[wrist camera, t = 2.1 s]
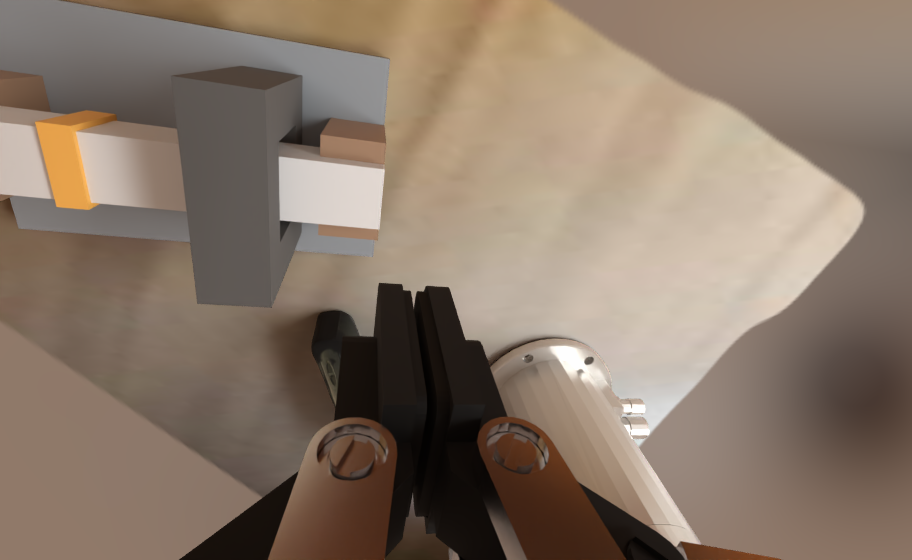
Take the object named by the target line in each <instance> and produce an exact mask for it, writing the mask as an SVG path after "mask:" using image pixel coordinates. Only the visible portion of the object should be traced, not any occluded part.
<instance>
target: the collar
mask: <svg viewBox="0 0 912 560" xmlns="http://www.w3.org/2000/svg"><path fill="white" fill-rule="evenodd" d="M171 82H172V91H173V99H174V108H175V116H176V125H177V133H178V142H179V150H180V159H181V168H182V176H183V185H184V193H185V202H186V210H187V219H188V228H189V236H190V245H191V253H192V262H193V270H194V279H195V287H196V296H197V304H213V305H232V306H251V307H270V308H272V305H273V303H274V300H275V298H276V295H277V293H278V290H279V288H280V286H281V283H282V281H283V278H284V276H285V273H286V271H287V268H288V266H289V263H290V261H291V258H292V256H293V253H294V251H295V248H296V246H297V243H298V241H299V238H300V236H301V233H302V222H293V221H282V220H280V199H279V144H278V142H283V143H291V144H299V145H302V83H303V75H296V74H290V73H284V72H278V71H272V70H266V69H259V68H253V67H247V66H236V67H229V68H222V69H215V70H208V71H201V72H194V73H187V74H180V75H173V76H171Z"/></svg>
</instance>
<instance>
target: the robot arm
mask: <svg viewBox="0 0 912 560" xmlns="http://www.w3.org/2000/svg"><path fill="white" fill-rule="evenodd" d="M644 411H645V405H644V402H643V401H642V400H641V399H619V398H618V397H617V396H616V395H615V394H614V392H613V391H612V379H611V375H610V371H609V369H608V368H607V366H606V364H605V363H604V361H603V360H602V359H601V357H600V356H599V355H598V354H597V353H596V352H595V351H594V350H593V349H591V348H590V347H589V346H586V345H584V344H582V343H580V342H577V341H573V340H568V339H545V340H539V341H535V342H531V343H528V344H525V345H523V346H520V347H518V348H516V349H514V350H512V351H510V352H509V353H507V354H506V355H504V356H502V357H501V358H500V359H499V360H497V361H496V362H495V363H494V364H493V365H492V366H491V367H490V366H489V363H488V360H487V357H486V355H485V352H484V349H483V346H482V344H481V342H480V341H475V340H465V337H464V334H463V331H462V327H461V324H460V321H459V318H458V315H457V311H456V308H455V305H454V302H453V298H452V295H451V292H450V289H449V287H435V286H426V287H425V290H424V292H422V291H417V293H416V298H415V305H414V309H413V302H412V296H411V291H405V290H403V286H402V284H388V283H379V286H378V296H377V306H376V317H375V327H374V337H363V336H343V338H342V348H341V358H340V368H339V378H338V389H337V399H336V409H335V419H334V421H333V422H331V423H329V424H328V425H326V426H324V427H322V428H321V429H320V430H319V431H318V432H317V433H316V434H315V435H314V436H313V438H312V439H311V441H310V443H309V445H308V447H307V450H306V453H305V455H304V458H303V461H302V464H301V467H300V470H299V471H298V472H297V473H296V474H294V475H293V476H292V477H290V478H289V479H288V480H286V481H285V482H283V483H282V484H281V485H279V486H278V487H277V488H275V489H274V490H273V491H271V492H270V493H269V494H267V495H266V496H265V497H263V498H262V499H261V500H259V501H258V502H257V503H255V504H254V505H253V506H251V507H250V508H248V509H247V510H246V511H244V512H243V513H242V514H240V515H239V516H238V517H236V518H235V519H234V520H232V521H231V522H229V523H228V524H227V525H225V526H224V527H223V528H221V529H220V530H219V531H217V532H216V533H215V534H214V535H212V536H211V537H209V538H208V539H206V540H205V541H204V542H202V543H201V544H200V545H199V546H197V547H196V548H194V549H193V550H192V551H190V552H189V553H188V554H186V555H185V556H184V557H182V558H181V559H179V560H384V559H385V558H386V556H387V555H388V554H389V553H390V552H391V551H392V550H393V549H394V547H395V546H396V545H397V544H398V543H399V542H400V541H401V540H402V537H403V532H404V526H405V520H406V517H408V515H409V510H410V504H411V499H412V493H413V499H414V510H415V515H416V517H420V516H424V518H425V527H426V534H432V533H436V537H437V538H439V539H440V540H441V541H442V542H443V543H445V544H446V545H447V546H448V547H449V557H450V560H781V559H778V558H773V557H768V556H762V555H757V554H751V553H745V552H739V551H734V550H728V549H723V548H717V547H711V546H706V545H702V544H701V542H700V541H699V539H698V538H697V536H696V535H695V533H694V532H693V530H692V529H691V527H690V525H689V524H688V522H687V521H686V519H685V518H684V516H683V515H682V513H681V512H680V510H679V509H678V507H677V506H676V504H675V503H674V501H673V500H672V498H671V497H670V495H669V493H668V492H667V491H666V489H665V487H664V486H663V484H662V483H661V481H660V480H659V478H658V477H657V475H656V474H655V472H654V471H653V469H652V467H651V466H650V464H649V463H648V461H647V460H646V458H645V457H644V456H643V454H642V452H641V451H640V449H639V447H638V446H637V444H636V443H635V441H634V440H633V439H644V438H646V437H647V436H648V433H649V427H648V423H647V421H646V420H645V419H644V418H643V417H622V418H621V416H622V414H627V415H642V414H643V413H644Z"/></svg>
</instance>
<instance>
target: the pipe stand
mask: <svg viewBox="0 0 912 560" xmlns="http://www.w3.org/2000/svg"><path fill="white" fill-rule="evenodd" d="M389 64H390V59H389V58H383V57H378V56H372V55H366V54H361V53H355V52H350V51H344V50H338V49H333V48H327V47H321V46H316V45H310V44H304V43H299V42H293V41H288V40H282V39H276V38H271V37H265V36H259V35H254V34H248V33H242V32H237V31H231V30H226V29H220V28H214V27H209V26H203V25H197V24H192V23H186V22H180V21H175V20H169V19H164V18H158V17H152V16H147V15H141V14H135V13H130V12H124V11H118V10H113V9H107V8H102V7H96V6H90V5H85V4H79V3H73V2H68V1H62V0H0V201H2V200H5V199H7V198H10V201H11V204H12V207H13V211H14V214H15V217H16V221H17V224H18V227H19V229H31V230H44V231H56V232H69V233H81V234H94V235H106V236H119V237H131V238H144V239H156V240H169V241H181V242H190V236H189V228H188V219H187V210H186V202H185V193H184V185H183V176H182V168H181V159H180V150H179V142H178V133H177V125H176V116H175V108H174V99H173V91H172V82H171V76H173V75H180V74H187V73H194V72H201V71H208V70H215V69H222V68H229V67H236V66H247V67H253V68H259V69H266V70H272V71H278V72H284V73H290V74H296V75H303V83H302V145H299V144H291V143H283V142H278V144H279V199H280V220H282V221H293V222H302V233H301V236H300V238H299V241H298V243H297V246H296V248H295V251H306V252H318V253H331V254H343V255H356V256H368V257H373V252H374V240H378V230H379V227H380V216H381V204H382V193H383V182H384V171H385V168H384V162H385V151H386V137H385V127H384V123H385V111H386V99H387V88H388V76H389Z"/></svg>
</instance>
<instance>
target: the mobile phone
mask: <svg viewBox="0 0 912 560" xmlns="http://www.w3.org/2000/svg"><path fill="white" fill-rule="evenodd" d="M343 336H359V333H358V330H357V328H356V325H355V323H354V320H353V319H352V317H351V316H350V315H348V314H347V313H345V312H342V311H331V312H324V313H321V314H320V315H319V316H318V318H317V323H316V328H315V332H314V336H313V340H312V354H313V356H314V358H315V360H316V362H317V364H318V366H319V368H320V371H321V373H322V376H323V378H324V380H325V383H326V385H327V388H328V391H329V394H330V396H331V399H332V401H333V404H334V406H335V409H336V399H337V389H338V378H339V368H340V358H341V348H342V338H343Z"/></svg>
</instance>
